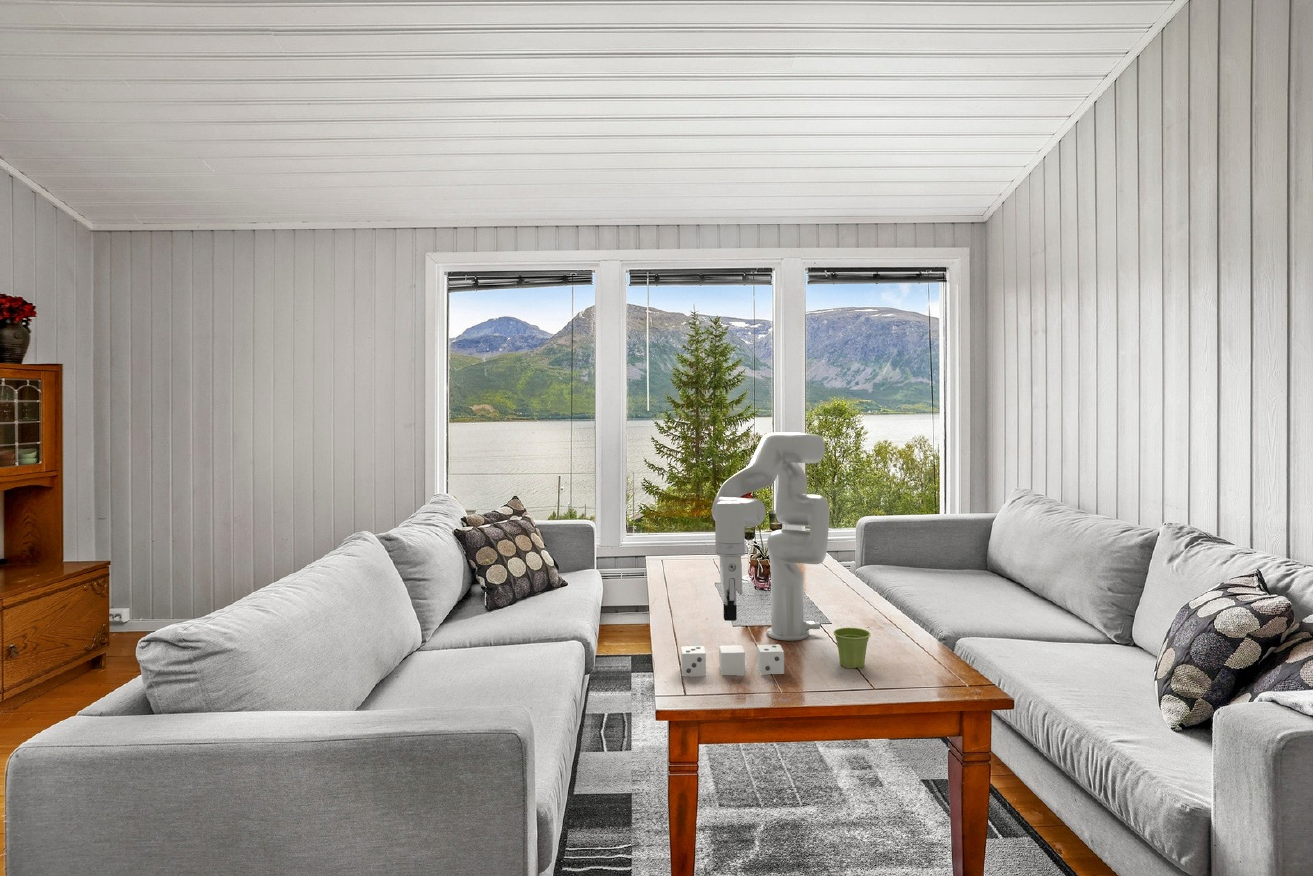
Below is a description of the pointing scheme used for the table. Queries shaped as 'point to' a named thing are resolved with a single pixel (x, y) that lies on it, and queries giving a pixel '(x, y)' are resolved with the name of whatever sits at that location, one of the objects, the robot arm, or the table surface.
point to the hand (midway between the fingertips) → (730, 619)
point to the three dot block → (693, 661)
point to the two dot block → (770, 659)
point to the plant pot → (852, 646)
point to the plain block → (732, 660)
